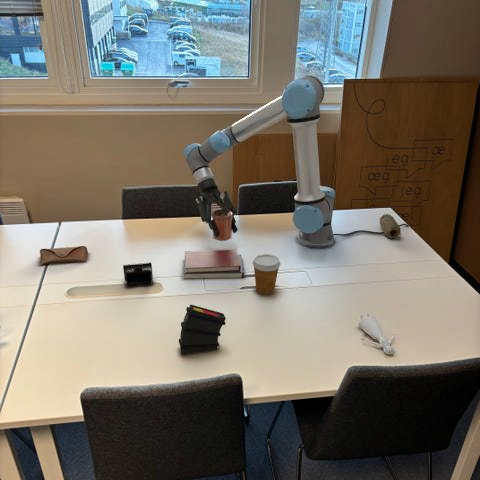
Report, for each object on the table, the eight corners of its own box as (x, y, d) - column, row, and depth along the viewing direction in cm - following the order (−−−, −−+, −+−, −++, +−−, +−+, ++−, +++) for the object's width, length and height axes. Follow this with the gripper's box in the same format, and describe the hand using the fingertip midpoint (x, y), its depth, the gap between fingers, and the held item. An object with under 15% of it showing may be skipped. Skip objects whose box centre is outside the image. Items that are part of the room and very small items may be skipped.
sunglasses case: (38, 265, 190) (36, 247, 190) (41, 266, 197) (39, 249, 197) (87, 261, 194) (85, 243, 194) (89, 262, 201) (87, 246, 201)
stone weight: (375, 226, 228) (377, 212, 225) (390, 226, 229) (392, 212, 225) (386, 240, 216) (389, 225, 212) (402, 239, 216) (405, 225, 213)
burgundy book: (236, 254, 197) (236, 249, 195) (240, 271, 185) (240, 265, 184) (185, 256, 194) (184, 251, 193) (186, 273, 183) (185, 268, 182)
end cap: (152, 275, 186) (150, 259, 182) (154, 285, 180) (152, 268, 176) (124, 278, 184) (122, 262, 180) (125, 288, 178) (123, 271, 174)
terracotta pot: (231, 232, 205) (232, 209, 199) (232, 240, 198) (233, 216, 193) (212, 232, 204) (211, 209, 199) (212, 241, 198) (212, 216, 192)
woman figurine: (382, 309, 160) (411, 344, 146) (379, 320, 162) (407, 356, 148) (348, 313, 157) (374, 349, 143) (346, 324, 160) (371, 361, 146)
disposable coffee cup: (278, 284, 181) (280, 254, 175) (278, 298, 174) (280, 267, 167) (252, 283, 182) (253, 253, 176) (250, 296, 174) (251, 265, 168)
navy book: (241, 260, 198) (241, 254, 197) (243, 278, 186) (243, 272, 184) (185, 261, 197) (184, 255, 195) (183, 279, 184) (183, 273, 183)
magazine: (168, 345, 146) (188, 303, 141) (208, 355, 152) (229, 314, 146) (170, 353, 143) (191, 310, 138) (211, 362, 149) (232, 321, 143)
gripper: (224, 182, 208) (244, 232, 206) (179, 191, 198) (200, 243, 196) (230, 173, 201) (252, 224, 199) (185, 181, 192) (207, 235, 189)
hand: (226, 233), depth 197 cm, fingers closed on terracotta pot, 8 cm apart
